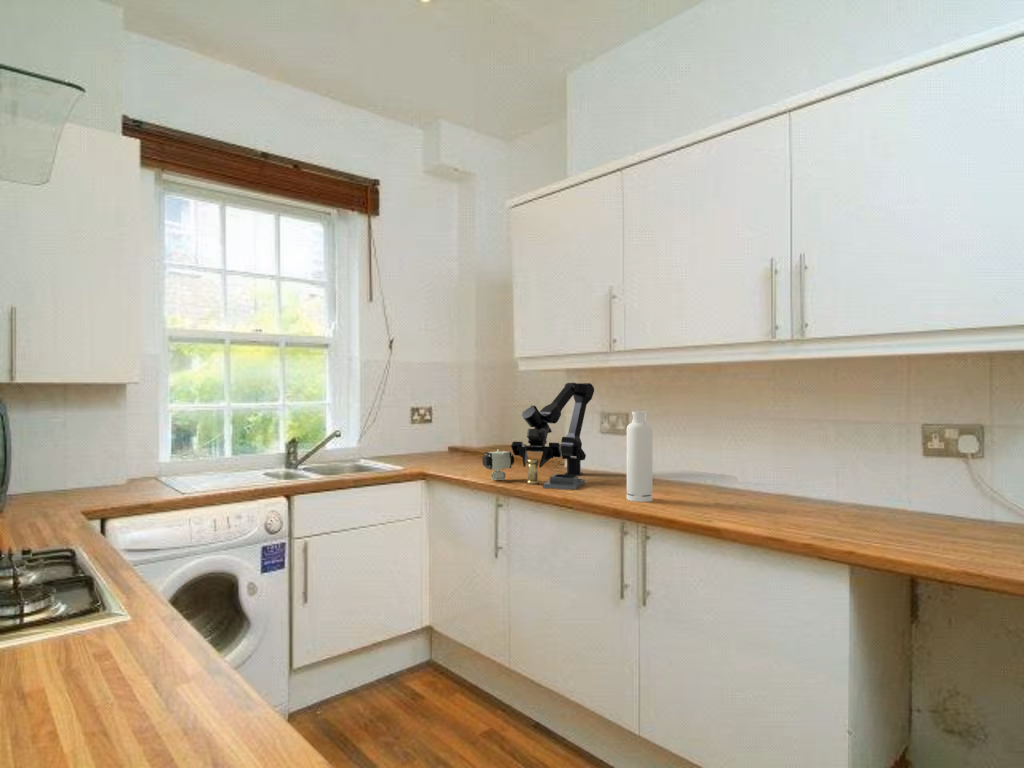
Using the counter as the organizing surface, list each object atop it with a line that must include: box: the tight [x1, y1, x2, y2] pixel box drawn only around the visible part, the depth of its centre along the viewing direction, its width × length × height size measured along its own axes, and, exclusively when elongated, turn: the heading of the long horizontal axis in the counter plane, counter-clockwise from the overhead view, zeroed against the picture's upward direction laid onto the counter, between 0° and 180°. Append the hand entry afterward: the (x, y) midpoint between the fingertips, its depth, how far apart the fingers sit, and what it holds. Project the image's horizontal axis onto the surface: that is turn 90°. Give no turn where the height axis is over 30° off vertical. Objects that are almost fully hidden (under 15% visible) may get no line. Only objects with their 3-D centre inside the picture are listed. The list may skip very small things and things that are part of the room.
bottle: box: [626, 411, 653, 503], centre depth 183 cm, size 8×8×28 cm
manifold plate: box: [542, 473, 586, 490], centre depth 210 cm, size 16×12×4 cm
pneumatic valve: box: [482, 449, 515, 481], centre depth 222 cm, size 6×12×12 cm, turn 116°
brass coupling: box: [526, 458, 540, 485], centre depth 214 cm, size 4×4×9 cm
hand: (531, 466), depth 212 cm, fingers open, 6 cm apart
